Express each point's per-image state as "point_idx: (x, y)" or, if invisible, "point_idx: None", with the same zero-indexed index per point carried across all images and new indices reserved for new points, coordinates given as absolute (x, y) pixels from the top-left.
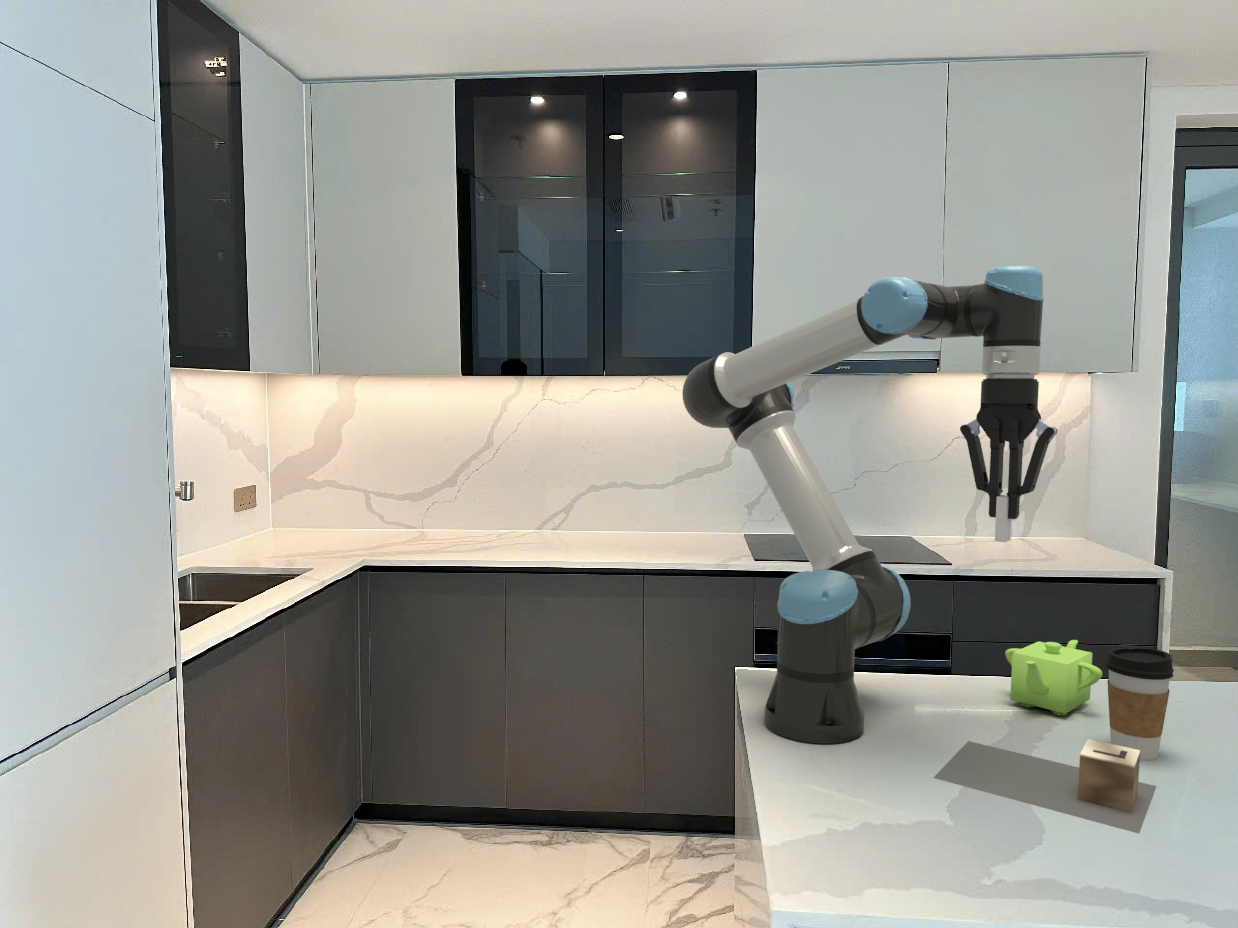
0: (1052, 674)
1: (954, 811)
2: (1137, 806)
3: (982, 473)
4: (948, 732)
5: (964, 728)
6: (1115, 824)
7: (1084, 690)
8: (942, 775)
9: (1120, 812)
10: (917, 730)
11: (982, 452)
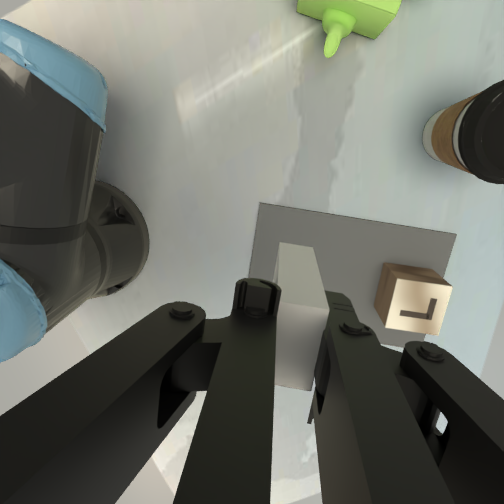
0: (366, 14)
1: None
2: None
3: (158, 442)
4: (234, 179)
5: (249, 154)
6: (402, 342)
7: None
8: None
9: None
10: (200, 192)
11: (48, 467)
